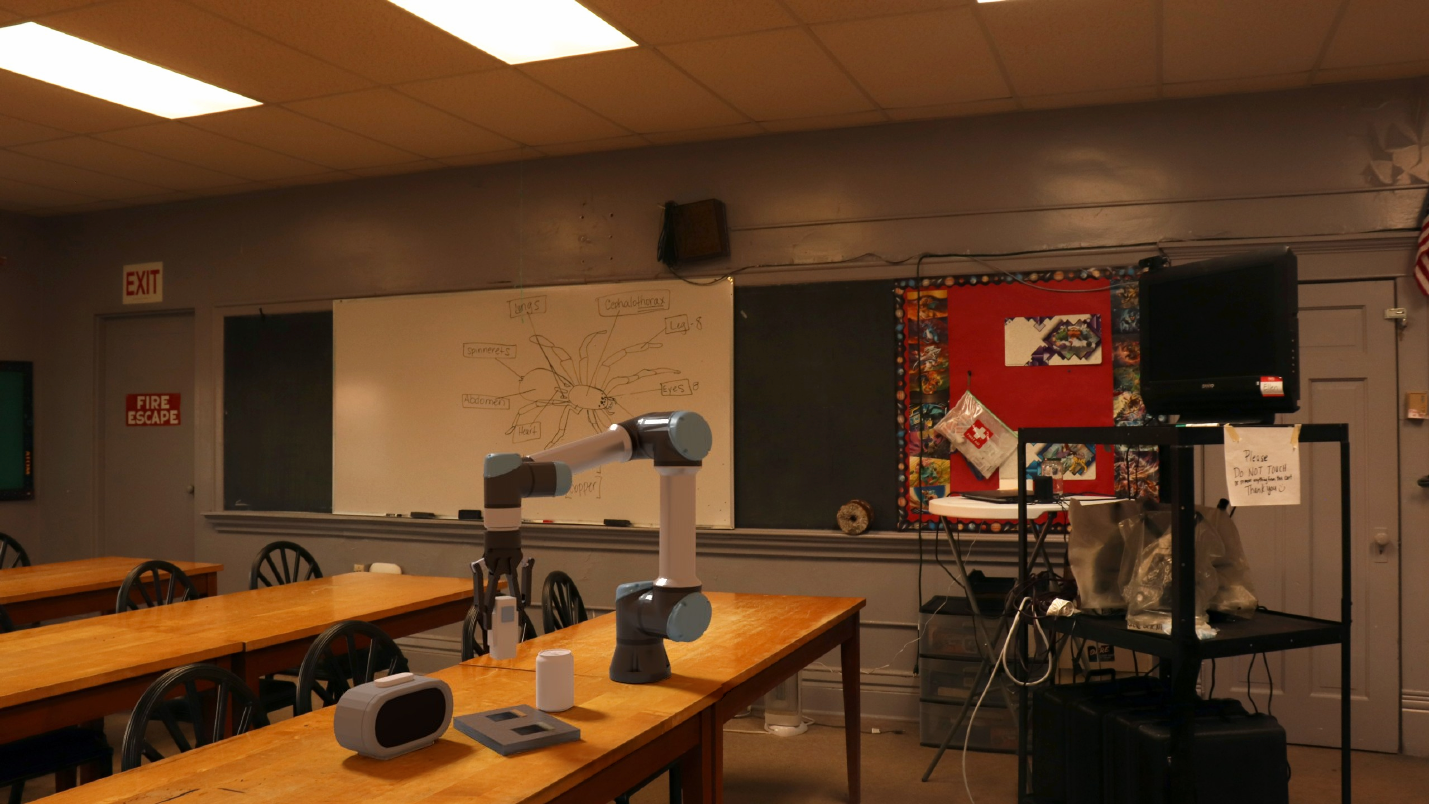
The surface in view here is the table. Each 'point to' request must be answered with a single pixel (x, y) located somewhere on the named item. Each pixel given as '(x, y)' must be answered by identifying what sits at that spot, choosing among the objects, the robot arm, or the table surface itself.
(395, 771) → the table surface
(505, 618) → the plug
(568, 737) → the panel
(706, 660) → the table surface
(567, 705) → the beverage can
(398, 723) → the alarm clock
